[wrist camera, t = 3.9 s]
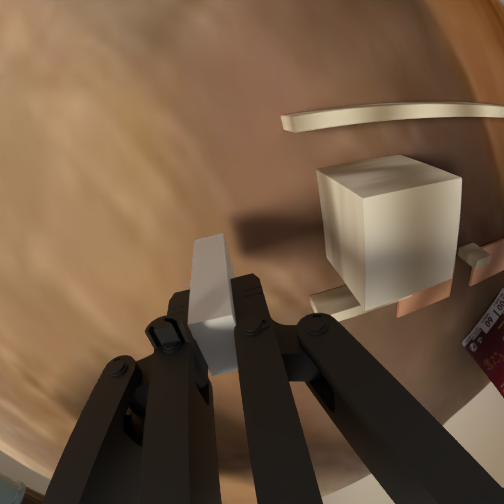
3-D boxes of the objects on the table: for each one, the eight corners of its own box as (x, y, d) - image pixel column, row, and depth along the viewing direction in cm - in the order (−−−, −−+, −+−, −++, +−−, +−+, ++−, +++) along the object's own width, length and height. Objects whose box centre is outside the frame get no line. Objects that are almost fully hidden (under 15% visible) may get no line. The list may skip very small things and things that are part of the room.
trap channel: (314, 342, 23) (324, 365, 21) (280, 115, 15) (292, 116, 13) (532, 251, 24) (545, 261, 22) (545, 110, 16) (562, 115, 14)
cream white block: (326, 256, 20) (365, 311, 14) (315, 168, 17) (362, 198, 12) (400, 236, 20) (451, 278, 15) (399, 154, 17) (461, 177, 12)
